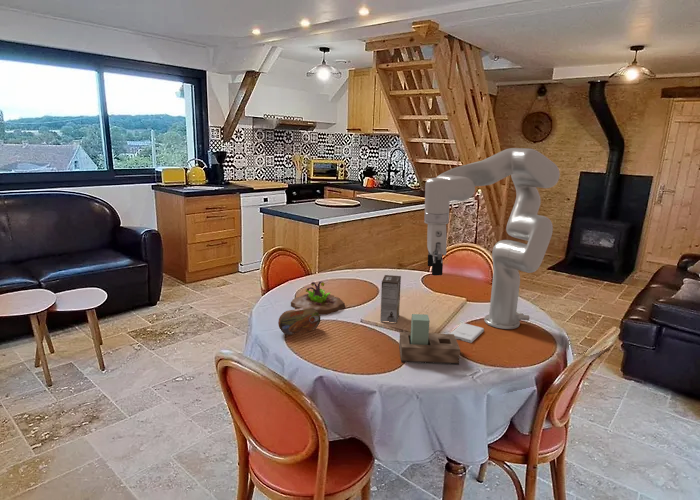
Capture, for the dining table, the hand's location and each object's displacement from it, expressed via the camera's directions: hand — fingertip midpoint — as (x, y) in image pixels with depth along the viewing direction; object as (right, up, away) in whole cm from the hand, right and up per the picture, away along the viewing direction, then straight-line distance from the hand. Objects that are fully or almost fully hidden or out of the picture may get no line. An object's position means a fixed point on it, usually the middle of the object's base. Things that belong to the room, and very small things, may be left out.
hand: (434, 270), depth 142 cm
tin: (-45, -22, +13) cm, 52 cm away
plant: (-40, -17, +38) cm, 58 cm away
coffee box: (-12, -20, +26) cm, 35 cm away
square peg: (-6, -26, -2) cm, 27 cm away
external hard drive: (+14, -24, +14) cm, 31 cm away
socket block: (-3, -27, -2) cm, 27 cm away
